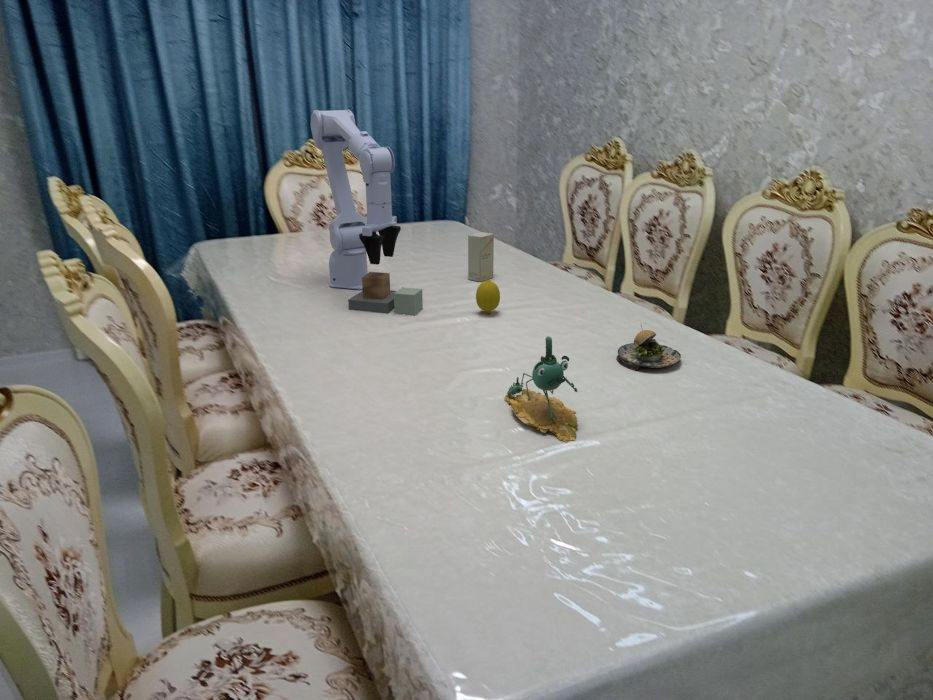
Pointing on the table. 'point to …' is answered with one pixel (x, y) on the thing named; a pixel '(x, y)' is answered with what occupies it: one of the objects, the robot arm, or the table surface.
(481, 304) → the lemon
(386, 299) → the charcoal block
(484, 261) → the skincare box
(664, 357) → the burger
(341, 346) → the table surface
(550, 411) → the green creature figurine
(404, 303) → the sage cube
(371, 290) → the walnut cube
